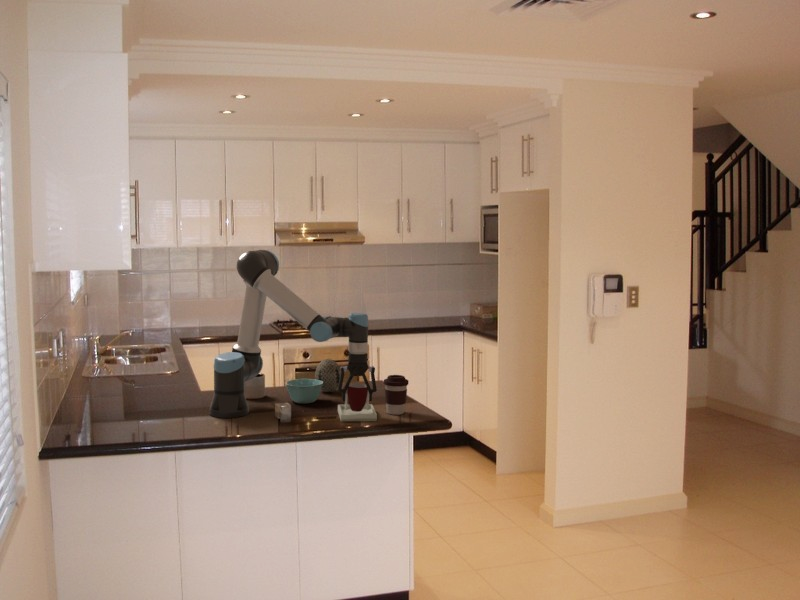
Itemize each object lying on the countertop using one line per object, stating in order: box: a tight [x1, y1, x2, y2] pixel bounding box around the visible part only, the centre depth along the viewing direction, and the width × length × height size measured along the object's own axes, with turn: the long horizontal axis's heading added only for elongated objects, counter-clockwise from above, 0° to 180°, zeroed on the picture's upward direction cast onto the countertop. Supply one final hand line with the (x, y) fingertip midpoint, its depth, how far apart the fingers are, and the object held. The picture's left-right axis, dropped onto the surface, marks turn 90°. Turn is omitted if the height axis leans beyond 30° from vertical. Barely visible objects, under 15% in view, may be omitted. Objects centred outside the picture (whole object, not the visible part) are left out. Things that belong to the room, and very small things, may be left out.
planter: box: [244, 372, 266, 400], centre depth 353 cm, size 11×11×10 cm
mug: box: [346, 383, 369, 412], centre depth 324 cm, size 10×8×10 cm
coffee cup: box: [383, 374, 409, 416], centre depth 330 cm, size 10×10×15 cm
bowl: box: [285, 378, 323, 404], centre depth 347 cm, size 16×16×8 cm
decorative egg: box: [314, 358, 341, 393], centre depth 365 cm, size 12×12×15 cm
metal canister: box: [279, 404, 292, 424], centre depth 314 cm, size 4×4×6 cm
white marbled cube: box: [274, 402, 291, 419], centre depth 320 cm, size 5×5×5 cm
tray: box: [337, 403, 378, 422], centre depth 325 cm, size 14×17×2 cm
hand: (356, 409), depth 325 cm, fingers closed on mug, 8 cm apart
